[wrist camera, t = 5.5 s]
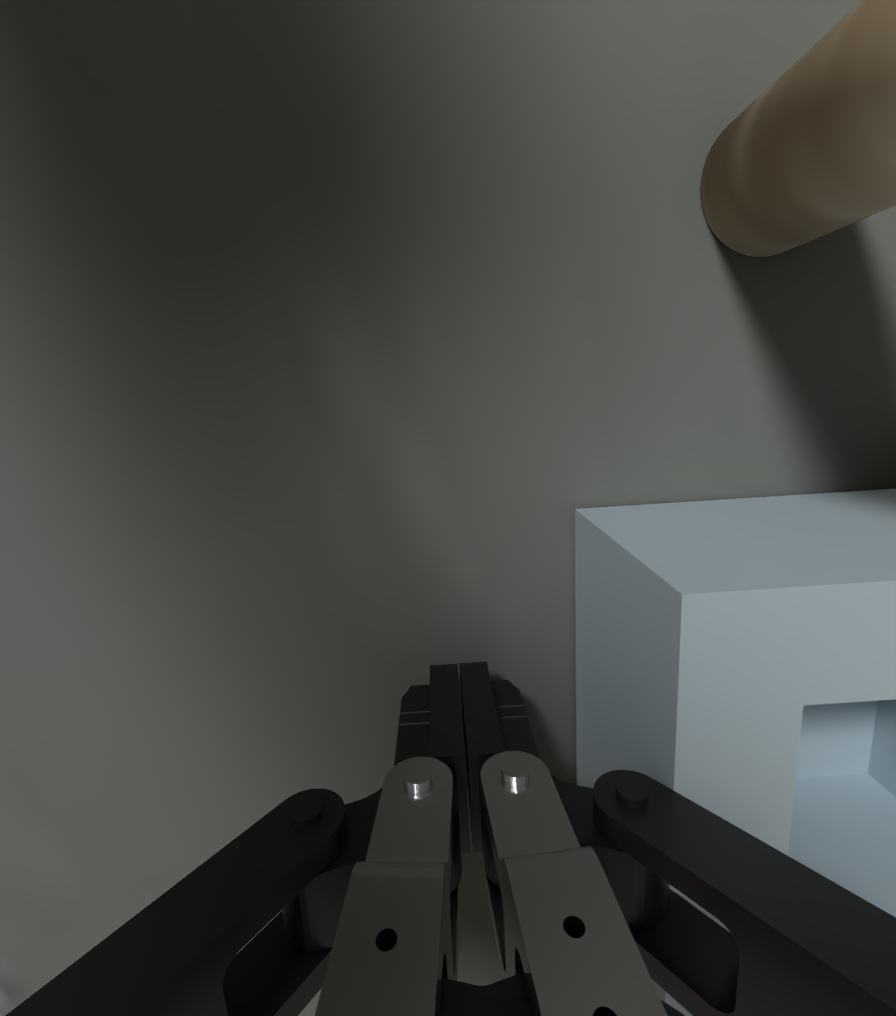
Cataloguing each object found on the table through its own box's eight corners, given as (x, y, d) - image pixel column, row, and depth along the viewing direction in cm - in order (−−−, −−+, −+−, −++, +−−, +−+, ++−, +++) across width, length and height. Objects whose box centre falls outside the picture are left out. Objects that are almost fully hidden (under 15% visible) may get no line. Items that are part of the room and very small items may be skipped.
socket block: (574, 508, 13) (682, 594, 7) (913, 487, 13) (1276, 555, 8) (576, 800, 15) (662, 1046, 9) (872, 779, 15) (1137, 1011, 10)
